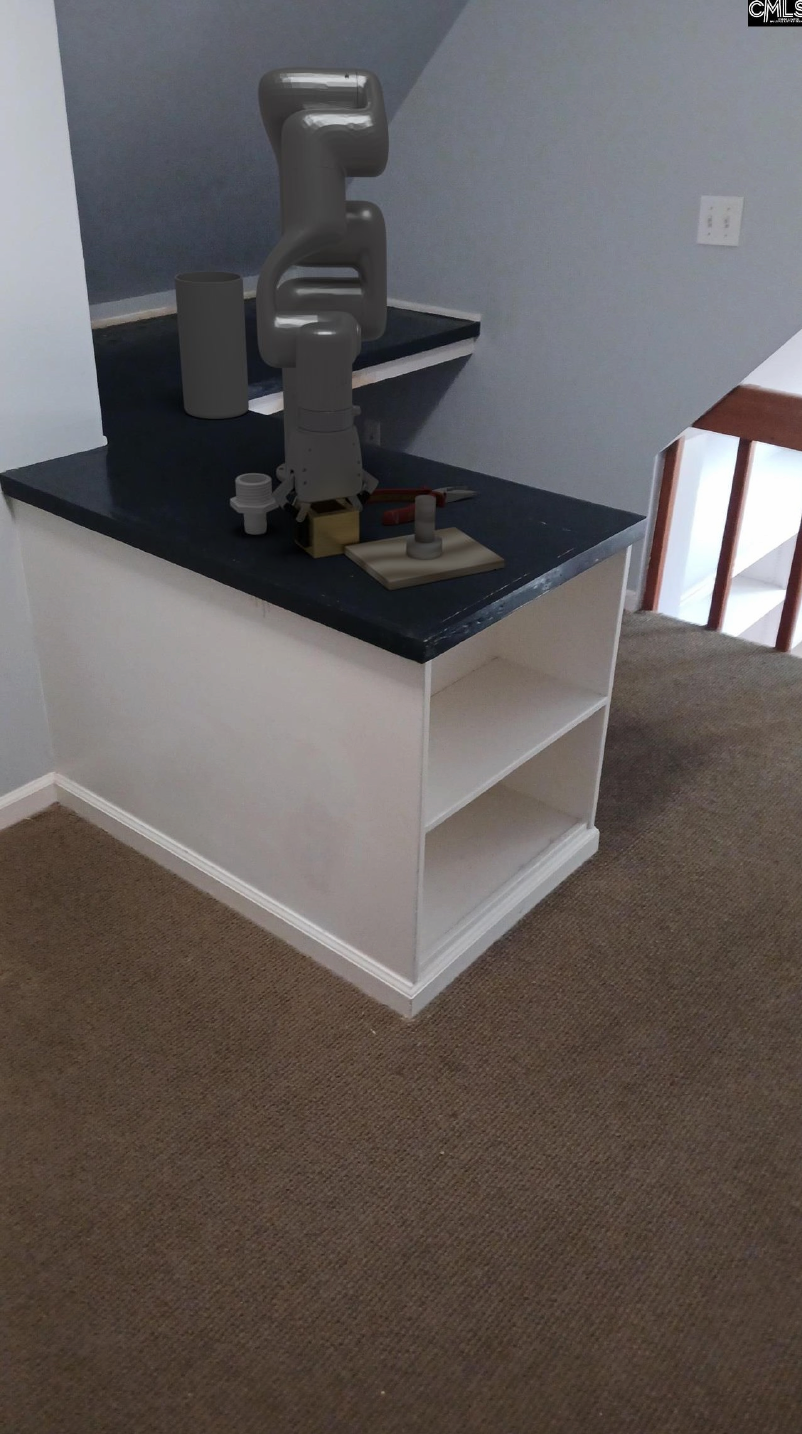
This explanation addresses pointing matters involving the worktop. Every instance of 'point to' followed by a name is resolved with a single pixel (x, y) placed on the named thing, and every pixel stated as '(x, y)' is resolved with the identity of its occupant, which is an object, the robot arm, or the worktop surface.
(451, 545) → the post stand
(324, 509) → the hollow wooden cube
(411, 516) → the pliers
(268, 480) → the pipe fitting
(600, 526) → the worktop surface
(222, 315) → the cylinder vase
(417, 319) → the worktop surface
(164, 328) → the worktop surface
